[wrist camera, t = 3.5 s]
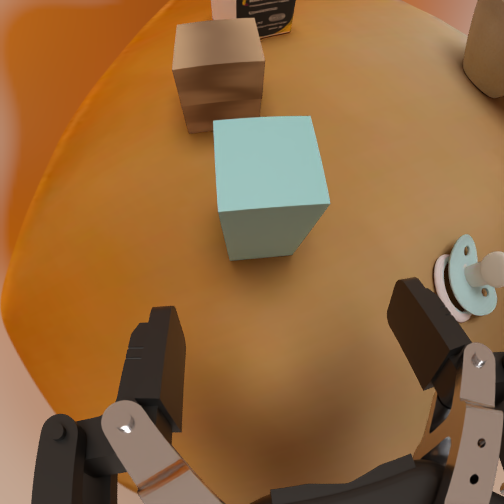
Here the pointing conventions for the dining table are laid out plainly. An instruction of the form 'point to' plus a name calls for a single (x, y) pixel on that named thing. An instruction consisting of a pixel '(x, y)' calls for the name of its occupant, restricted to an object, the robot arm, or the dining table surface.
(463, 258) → the pacifier
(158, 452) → the robot arm
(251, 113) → the tower base slab
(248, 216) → the pillar
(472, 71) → the plant pot
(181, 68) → the tower upper slab
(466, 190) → the dining table surface
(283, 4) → the medicine bottle
